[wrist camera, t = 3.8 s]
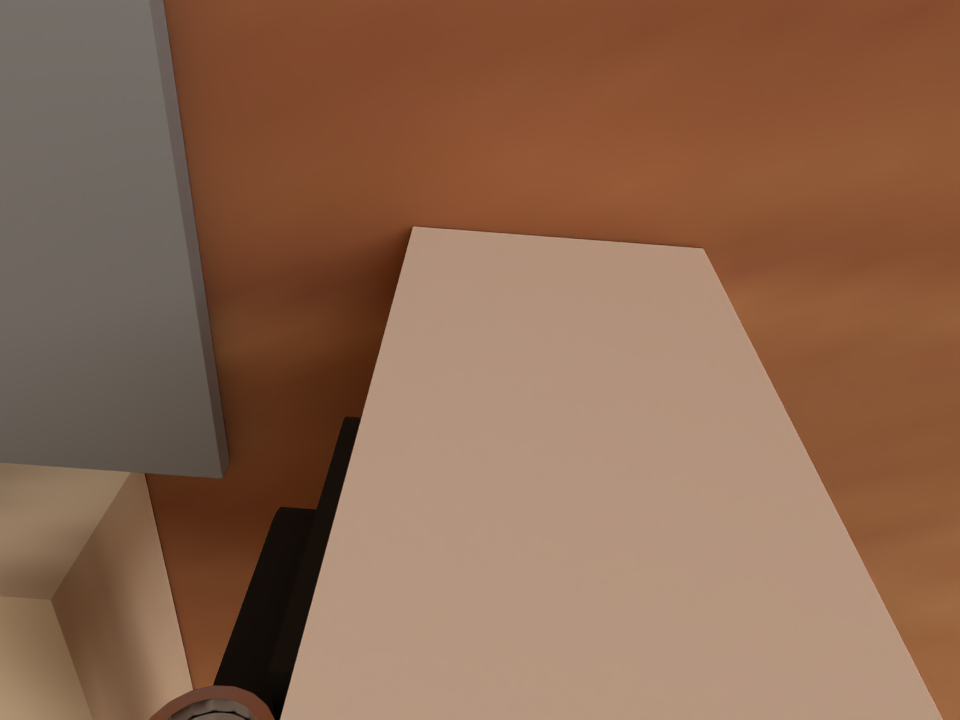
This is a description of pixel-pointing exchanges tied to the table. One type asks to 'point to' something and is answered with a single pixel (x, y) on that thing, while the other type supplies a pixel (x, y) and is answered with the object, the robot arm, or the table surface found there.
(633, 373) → the cream block
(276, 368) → the table surface
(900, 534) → the table surface
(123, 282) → the grey mat
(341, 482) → the robot arm
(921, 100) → the table surface
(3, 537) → the birch step
